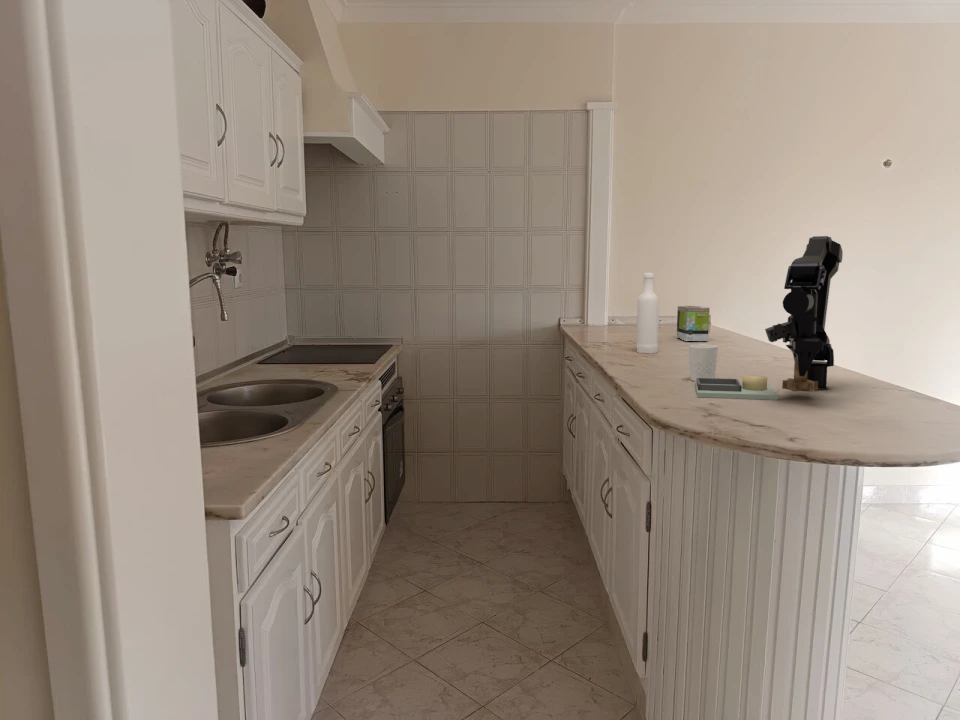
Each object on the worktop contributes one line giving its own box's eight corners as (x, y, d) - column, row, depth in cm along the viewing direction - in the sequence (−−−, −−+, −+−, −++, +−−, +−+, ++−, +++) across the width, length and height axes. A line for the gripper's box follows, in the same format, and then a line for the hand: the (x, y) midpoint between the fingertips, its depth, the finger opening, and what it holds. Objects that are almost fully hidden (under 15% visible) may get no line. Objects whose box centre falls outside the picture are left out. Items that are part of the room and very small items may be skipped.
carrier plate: (768, 387, 186) (768, 372, 186) (778, 399, 170) (778, 383, 170) (694, 385, 191) (695, 370, 191) (697, 397, 175) (698, 380, 174)
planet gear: (814, 386, 174) (815, 355, 173) (820, 392, 167) (822, 359, 166) (780, 385, 176) (781, 355, 175) (785, 391, 169) (786, 358, 168)
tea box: (709, 342, 290) (710, 307, 288) (685, 342, 291) (686, 307, 289) (698, 338, 305) (699, 305, 303) (675, 338, 305) (676, 305, 303)
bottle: (633, 353, 260) (635, 273, 256) (639, 350, 267) (640, 272, 262) (655, 354, 256) (656, 273, 252) (660, 351, 263) (661, 272, 259)
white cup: (698, 383, 195) (699, 348, 193) (683, 378, 202) (683, 345, 201) (722, 381, 197) (723, 346, 196) (706, 377, 204) (707, 343, 203)
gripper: (763, 309, 180) (760, 368, 182) (774, 315, 162) (771, 380, 164) (809, 309, 177) (806, 369, 179) (826, 315, 159) (822, 381, 161)
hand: (800, 375), depth 171 cm, fingers closed on planet gear, 3 cm apart
